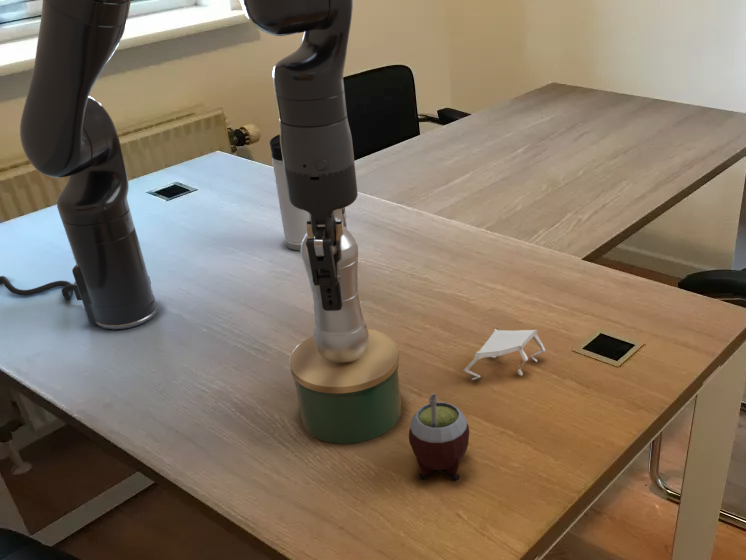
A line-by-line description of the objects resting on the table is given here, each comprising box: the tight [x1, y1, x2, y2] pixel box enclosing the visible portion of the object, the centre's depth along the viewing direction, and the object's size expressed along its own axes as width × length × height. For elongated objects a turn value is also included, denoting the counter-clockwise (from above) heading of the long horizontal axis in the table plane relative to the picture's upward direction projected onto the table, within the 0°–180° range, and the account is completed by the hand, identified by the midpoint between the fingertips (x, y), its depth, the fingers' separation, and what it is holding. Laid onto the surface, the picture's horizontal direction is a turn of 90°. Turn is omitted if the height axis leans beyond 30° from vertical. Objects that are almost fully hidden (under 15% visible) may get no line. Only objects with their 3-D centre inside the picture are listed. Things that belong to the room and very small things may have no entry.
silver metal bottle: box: [299, 209, 369, 363], centre depth 96 cm, size 6×7×20 cm
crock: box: [288, 328, 402, 445], centre depth 104 cm, size 14×14×9 cm
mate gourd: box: [408, 393, 470, 482], centre depth 93 cm, size 8×8×15 cm
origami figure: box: [462, 328, 546, 381], centre depth 113 cm, size 12×8×5 cm
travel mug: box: [269, 133, 309, 251], centre depth 143 cm, size 6×7×20 cm
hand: (336, 294), depth 96 cm, fingers closed on silver metal bottle, 6 cm apart
